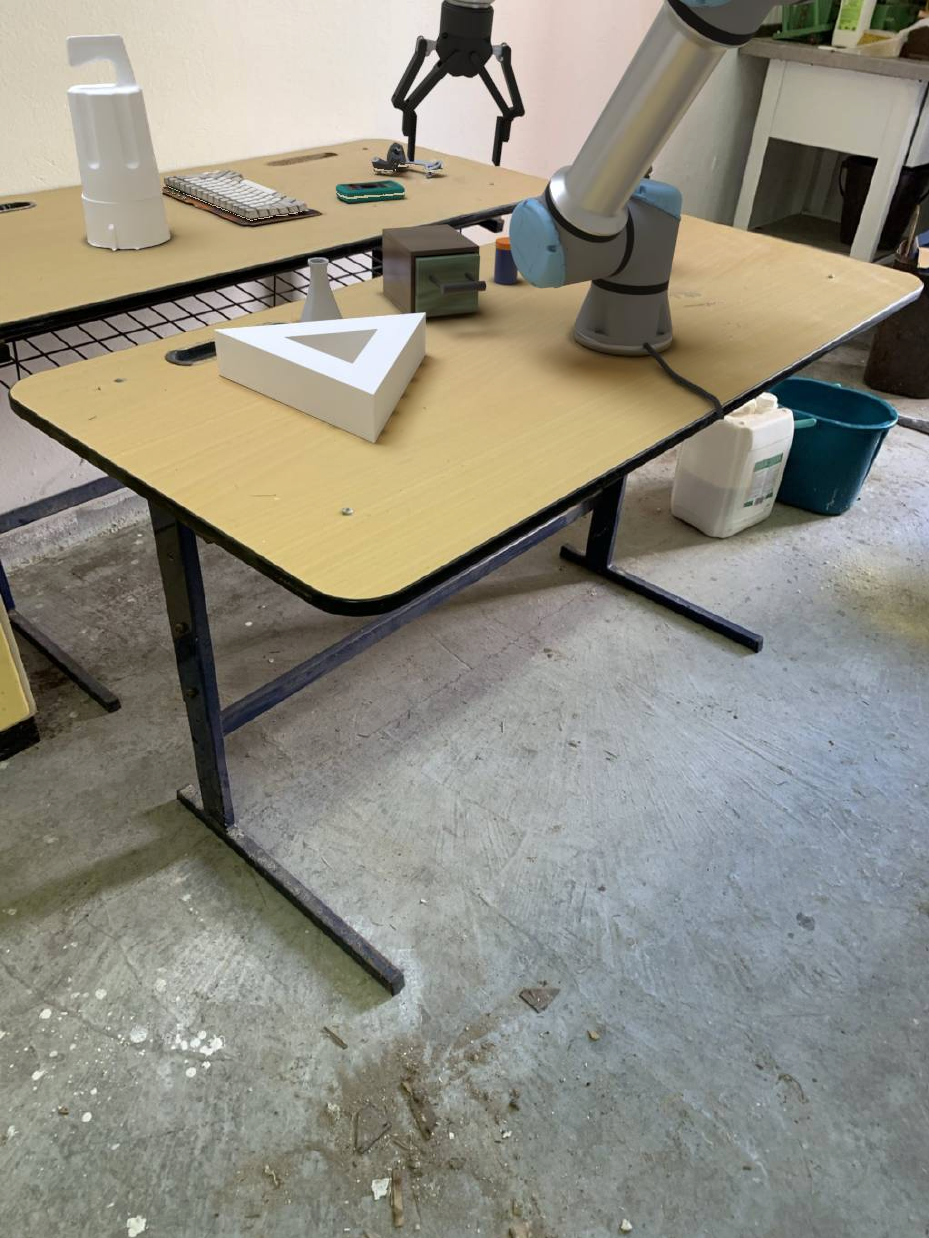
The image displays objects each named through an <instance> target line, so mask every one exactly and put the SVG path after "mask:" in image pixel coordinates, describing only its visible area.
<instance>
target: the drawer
mask: <svg viewBox="0 0 929 1238" xmlns="http://www.w3.org/2000/svg"><path fill="white" fill-rule="evenodd" d="M480 267H481V255H480V253H479V254H477V253H476V254H470V252H465V253H452V254H440V255H427V256H415V313H424V312H426V317H427V316H436V315H446V314H456V313H465V312H475V311H477V312H478V310H479V292H486V290H487V282H486V281H485V280H480V269H481V268H480Z"/></svg>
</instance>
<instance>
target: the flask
mask: <svg viewBox="0 0 929 1238" xmlns="http://www.w3.org/2000/svg"><path fill="white" fill-rule="evenodd" d="M329 262H330V261H329V259H328V258H326V257H310V258H308V259H307V265H308V266H309V275H310V277H309V285H308V288H307V289H308V290H307V294H306V297H305V301H304V305H303V309H302V312H301V315H300V319H299V323H302V322H314V321H326V320H338V319H344V318H343V316H342V313H341V311H340V309H339V306H338V303H337V301H336V298H335V296H334V293H333V290H332V287H331V283H330V279H329V274H328V266H329Z"/></svg>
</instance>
